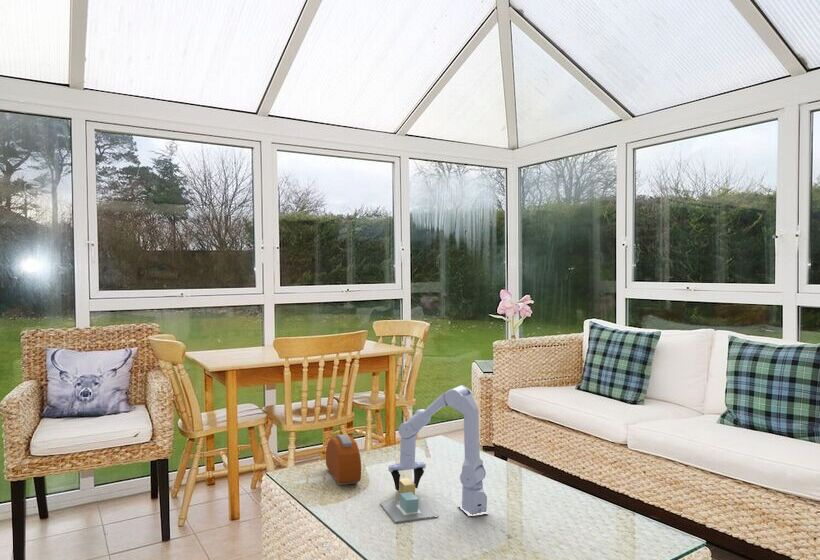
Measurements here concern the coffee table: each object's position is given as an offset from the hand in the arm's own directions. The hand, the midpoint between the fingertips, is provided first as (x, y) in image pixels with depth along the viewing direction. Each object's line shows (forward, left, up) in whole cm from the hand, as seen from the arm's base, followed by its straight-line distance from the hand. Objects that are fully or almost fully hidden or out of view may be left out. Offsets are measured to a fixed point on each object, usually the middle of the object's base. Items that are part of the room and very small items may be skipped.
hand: (406, 488), depth 217 cm
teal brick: (-15, +5, -1) cm, 16 cm away
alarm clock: (+23, +19, -2) cm, 30 cm away
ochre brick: (0, 0, -2) cm, 2 cm away
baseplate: (-15, +5, -2) cm, 16 cm away
